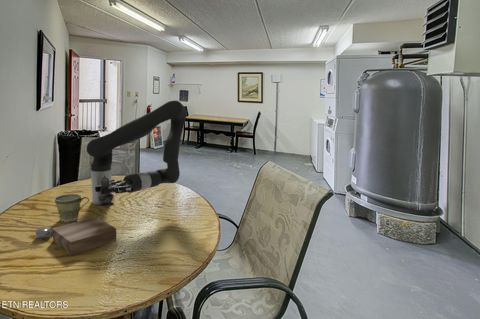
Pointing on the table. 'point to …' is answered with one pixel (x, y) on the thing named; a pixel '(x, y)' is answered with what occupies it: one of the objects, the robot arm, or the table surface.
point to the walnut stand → (84, 235)
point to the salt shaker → (106, 197)
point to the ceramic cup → (69, 206)
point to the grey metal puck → (43, 233)
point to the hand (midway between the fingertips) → (98, 190)
